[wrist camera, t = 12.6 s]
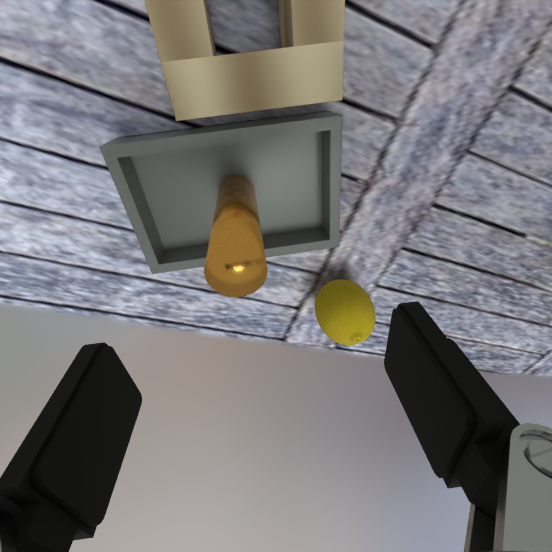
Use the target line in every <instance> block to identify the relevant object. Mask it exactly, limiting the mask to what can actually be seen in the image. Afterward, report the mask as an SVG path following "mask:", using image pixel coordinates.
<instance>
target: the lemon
mask: <svg viewBox="0 0 552 552" xmlns="http://www.w3.org/2000/svg"><path fill="white" fill-rule="evenodd" d="M315 314H316V318H317V320H318V323H319V325H320V327H321V328H322V330H323V331H324V333H325V334H326V335H327V336H328V337H329V338H330V339H331V340H333V341H335V342H337V343H339V344H343V345H355V344H358V343H361V342H362V341H364V340H365V339H367V338H368V337H369V335H370V334H371V333H372V331H373V329H374V325H375V310H374V306H373V304H372V301H371V299H370V297H369V296H368V294H367V293H366V291H365V290H363V289H362V288H361V287H360V286H359V285H358V284H356V283H354V282H352V281H349V280H344V279H339V280H334V281H331V282H329V283H327V284H326V285H324V286H323V287H322V288H321V289H320V291H319V292H318V294H317V296H316V300H315Z"/></svg>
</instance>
